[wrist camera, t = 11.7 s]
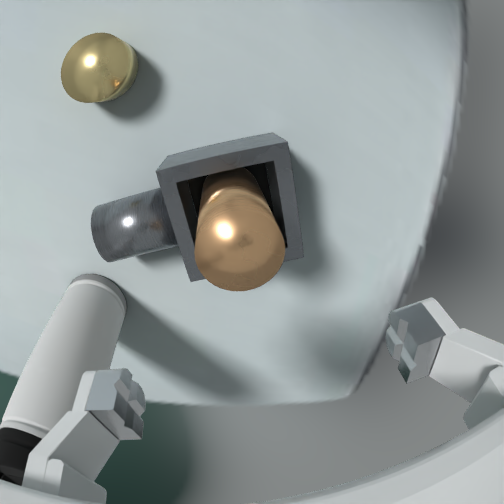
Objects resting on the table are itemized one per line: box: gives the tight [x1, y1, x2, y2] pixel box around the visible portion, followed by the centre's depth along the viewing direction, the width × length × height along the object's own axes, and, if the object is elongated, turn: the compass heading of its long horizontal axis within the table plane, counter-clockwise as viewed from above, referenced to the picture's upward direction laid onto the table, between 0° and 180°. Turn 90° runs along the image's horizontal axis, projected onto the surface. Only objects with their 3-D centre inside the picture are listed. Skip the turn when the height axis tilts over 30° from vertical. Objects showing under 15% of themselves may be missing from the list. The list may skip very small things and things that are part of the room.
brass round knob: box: [61, 33, 138, 103], centre depth 17 cm, size 5×5×3 cm
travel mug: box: [0, 274, 127, 486], centre depth 18 cm, size 6×7×20 cm
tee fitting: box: [91, 133, 304, 282], centre depth 22 cm, size 8×14×5 cm, turn 101°
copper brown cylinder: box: [194, 167, 285, 291], centre depth 20 cm, size 4×4×10 cm
